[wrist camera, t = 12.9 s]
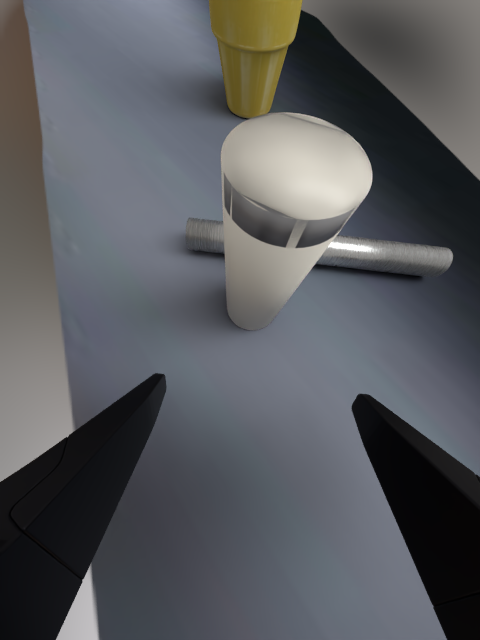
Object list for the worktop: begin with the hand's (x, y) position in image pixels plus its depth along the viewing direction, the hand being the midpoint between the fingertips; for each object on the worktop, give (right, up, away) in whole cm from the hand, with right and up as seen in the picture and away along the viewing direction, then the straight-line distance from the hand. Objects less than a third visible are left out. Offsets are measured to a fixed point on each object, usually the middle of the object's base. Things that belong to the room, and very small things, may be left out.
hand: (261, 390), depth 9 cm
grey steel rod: (+7, +10, +12) cm, 17 cm away
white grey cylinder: (0, +5, +10) cm, 11 cm away
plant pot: (0, +36, +20) cm, 41 cm away
